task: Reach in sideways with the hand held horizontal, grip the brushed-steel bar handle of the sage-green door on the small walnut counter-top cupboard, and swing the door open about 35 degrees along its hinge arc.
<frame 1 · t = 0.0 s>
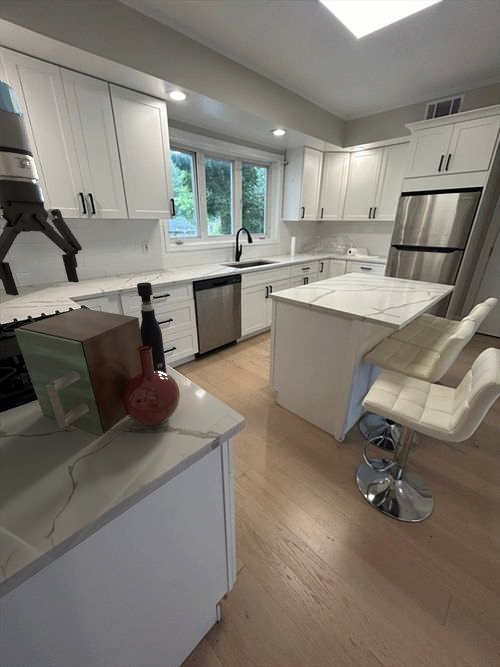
hand: (46, 287, 63), 32 cm above the countertop, tool pointing down, fingers open, 13 cm apart
wine bottle: (156, 375, 90), on the countertop
round-bottom flask: (155, 419, 70), on the countertop
cupboard door: (46, 390, 61), point 12 cm above the countertop, hinge at 0.0°
cupboard: (101, 404, 76), on the countertop
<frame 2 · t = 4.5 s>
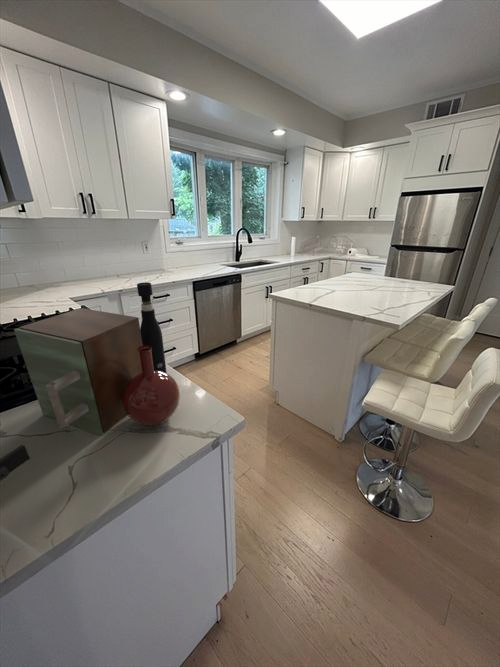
hand: (0, 439, 47), 12 cm above the countertop, tool horizontal, fingers open, 13 cm apart
nothing on the countertop moved.
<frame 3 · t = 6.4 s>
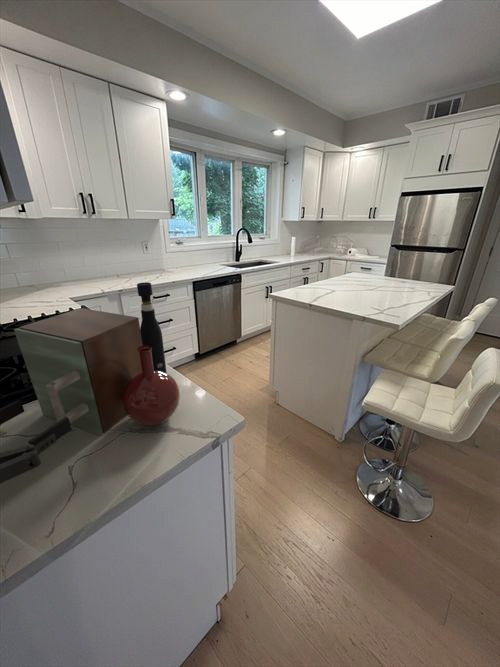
hand: (44, 413, 54), 12 cm above the countertop, tool horizontal, fingers open, 13 cm apart
nothing on the countertop moved.
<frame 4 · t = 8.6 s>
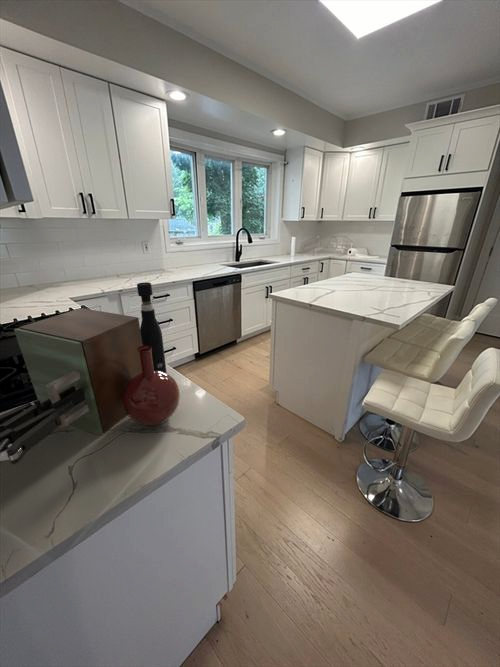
hand: (78, 392, 60), 12 cm above the countertop, tool horizontal, fingers closed on cupboard door, 2 cm apart
cupboard door: (45, 390, 61), point 12 cm above the countertop, hinge at 0.0°, touching gripper
everything else where it was.
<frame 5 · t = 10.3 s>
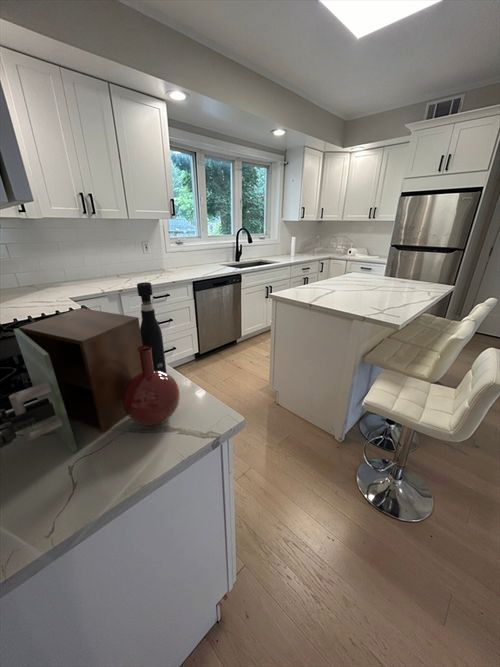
hand: (51, 406, 56), 12 cm above the countertop, tool horizontal, fingers closed on cupboard door, 2 cm apart
cupboard door: (28, 395, 59), point 12 cm above the countertop, hinge at 17.5°, touching gripper
everything else where it was.
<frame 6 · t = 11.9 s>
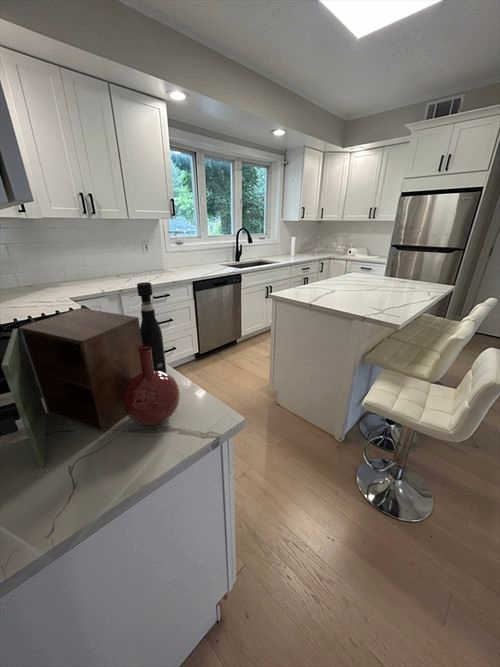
hand: (16, 418, 53), 12 cm above the countertop, tool horizontal, fingers open, 3 cm apart
cupboard door: (9, 399, 58), point 12 cm above the countertop, hinge at 34.7°
everything else where it was.
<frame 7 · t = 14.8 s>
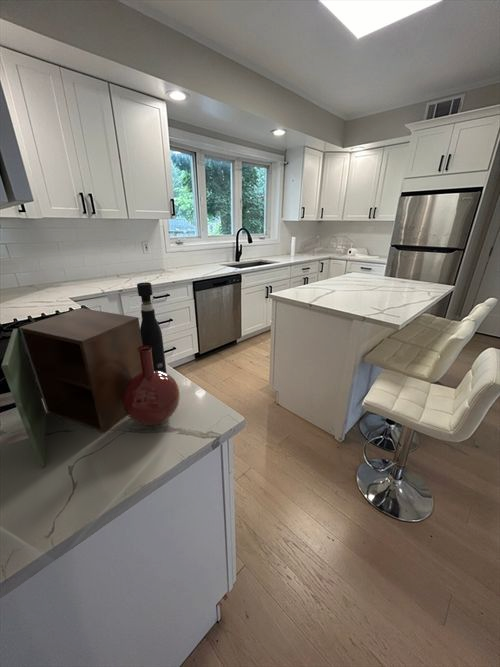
nothing on the countertop moved.
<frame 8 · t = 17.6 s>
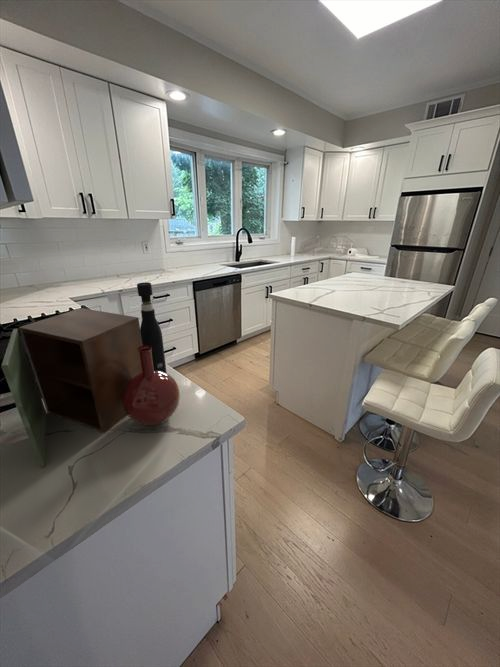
nothing on the countertop moved.
at the end: cupboard door at +35° (first picture: +0°); the gripper is holding nothing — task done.
